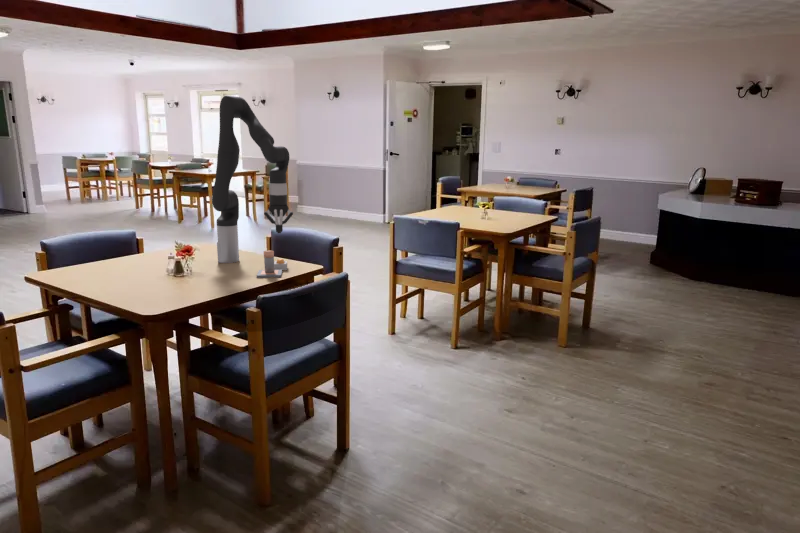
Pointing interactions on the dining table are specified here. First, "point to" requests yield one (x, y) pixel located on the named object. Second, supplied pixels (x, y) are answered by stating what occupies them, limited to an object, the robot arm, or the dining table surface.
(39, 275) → the dining table surface
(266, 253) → the grey upright block
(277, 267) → the button housing
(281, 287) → the dining table surface
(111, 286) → the dining table surface
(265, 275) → the picture board
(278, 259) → the button
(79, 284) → the dining table surface
